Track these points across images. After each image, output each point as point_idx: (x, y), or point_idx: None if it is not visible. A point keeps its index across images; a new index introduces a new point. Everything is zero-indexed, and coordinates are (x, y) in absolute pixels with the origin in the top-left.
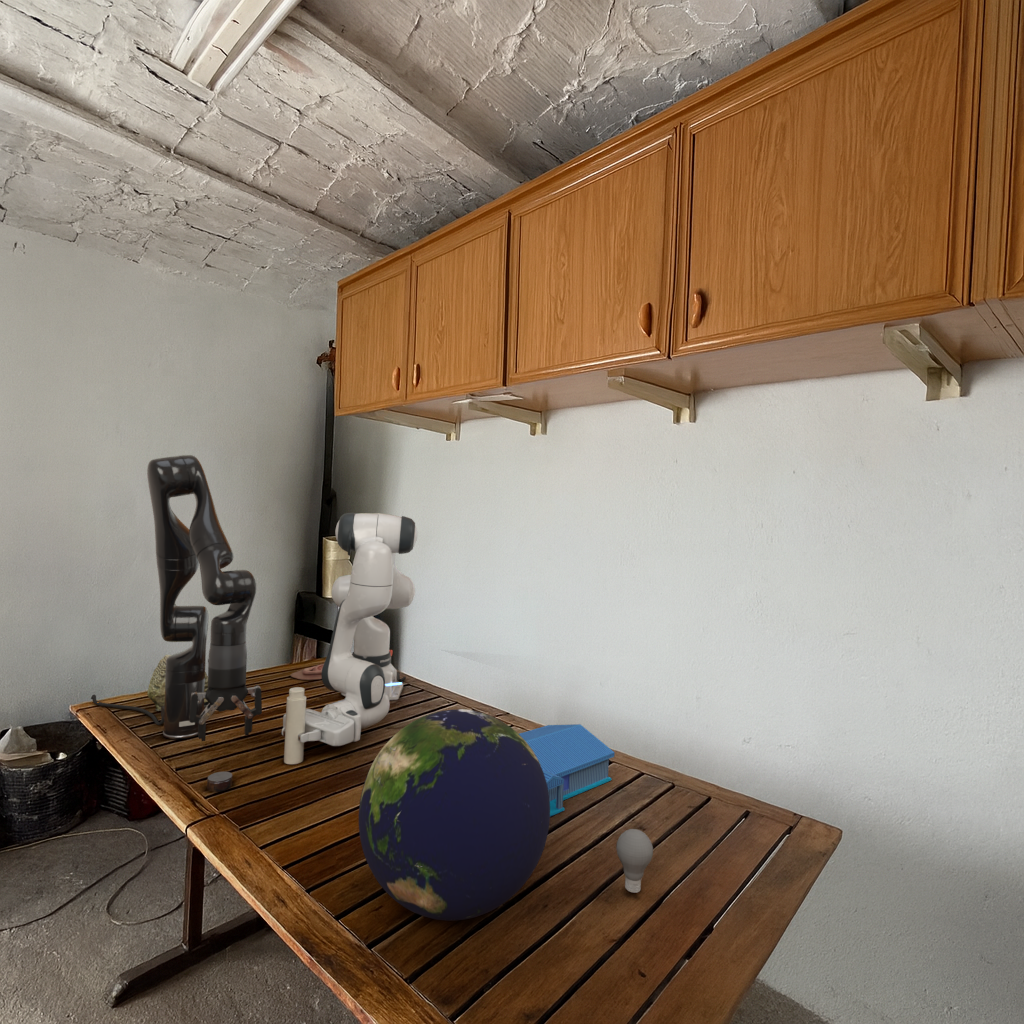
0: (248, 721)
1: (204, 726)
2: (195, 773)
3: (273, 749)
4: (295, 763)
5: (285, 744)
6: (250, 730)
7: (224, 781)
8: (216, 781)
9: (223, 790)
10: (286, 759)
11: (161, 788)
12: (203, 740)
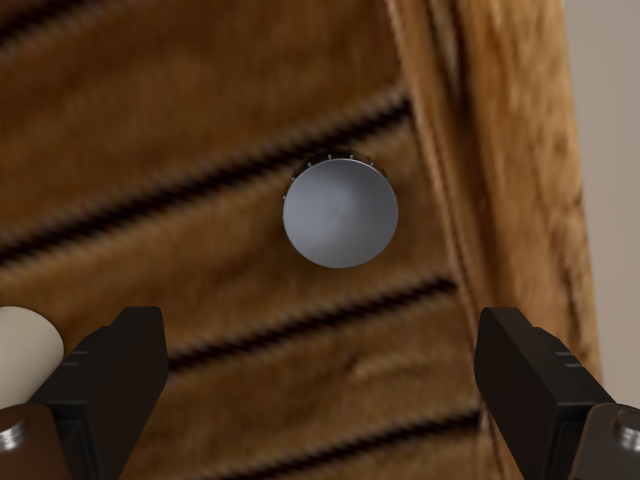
0: (69, 383)
1: (559, 389)
2: (417, 363)
3: None
4: (8, 307)
5: (4, 390)
6: (100, 336)
7: (323, 159)
8: (362, 161)
9: (326, 151)
10: (40, 333)
11: (560, 276)
12: (501, 308)
